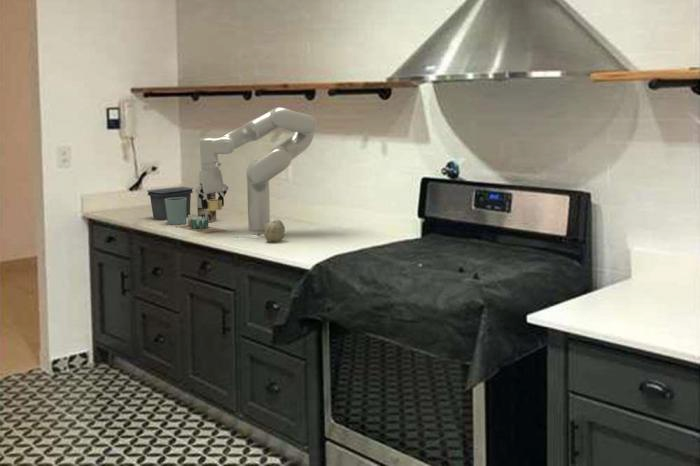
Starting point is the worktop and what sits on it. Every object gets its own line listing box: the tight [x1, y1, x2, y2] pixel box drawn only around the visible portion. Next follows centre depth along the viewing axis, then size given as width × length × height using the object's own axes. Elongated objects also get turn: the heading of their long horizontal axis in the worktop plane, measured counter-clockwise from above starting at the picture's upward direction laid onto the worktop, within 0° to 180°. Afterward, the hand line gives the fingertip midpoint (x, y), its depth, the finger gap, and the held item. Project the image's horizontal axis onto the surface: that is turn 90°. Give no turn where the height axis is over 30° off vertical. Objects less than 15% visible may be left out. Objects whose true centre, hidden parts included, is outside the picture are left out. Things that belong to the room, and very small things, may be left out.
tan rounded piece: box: [261, 219, 286, 243], centre depth 336 cm, size 9×8×10 cm
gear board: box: [174, 214, 227, 234], centre depth 362 cm, size 26×11×6 cm, turn 41°
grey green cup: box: [165, 197, 187, 226], centre depth 386 cm, size 10×10×12 cm
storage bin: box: [146, 186, 194, 221], centre depth 406 cm, size 21×16×14 cm
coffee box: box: [196, 192, 217, 224], centre depth 392 cm, size 9×6×16 cm
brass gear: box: [204, 198, 223, 212], centre depth 354 cm, size 8×8×4 cm
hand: (213, 207), depth 354 cm, fingers closed on brass gear, 7 cm apart
